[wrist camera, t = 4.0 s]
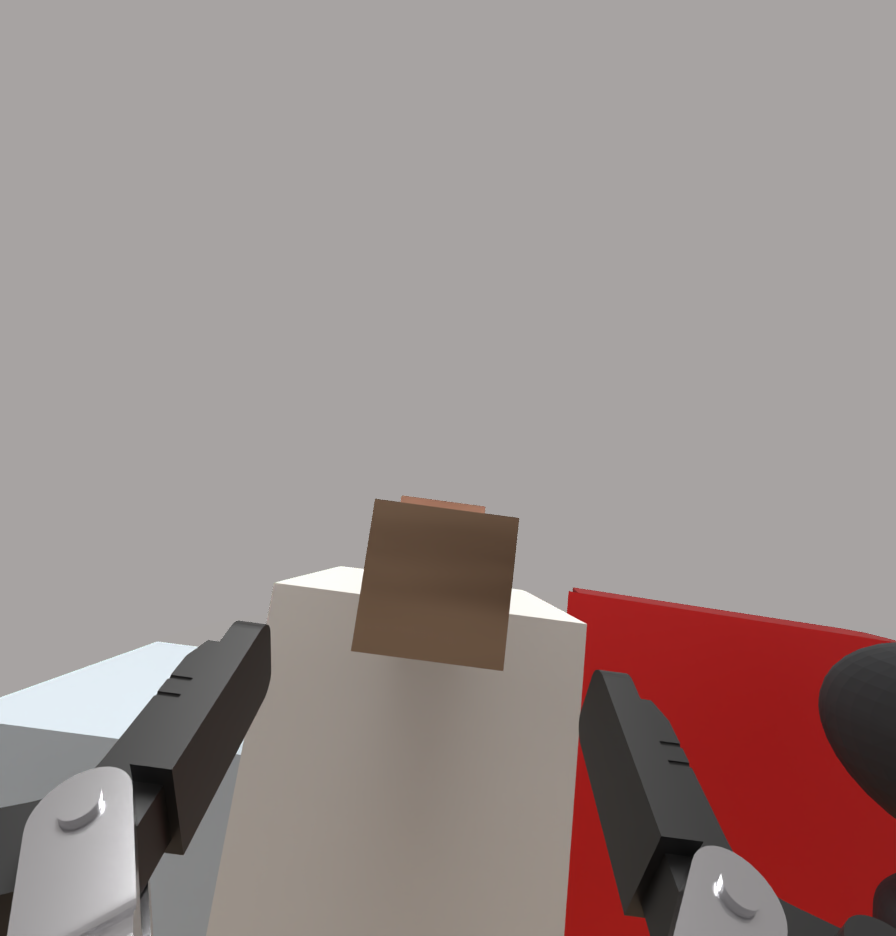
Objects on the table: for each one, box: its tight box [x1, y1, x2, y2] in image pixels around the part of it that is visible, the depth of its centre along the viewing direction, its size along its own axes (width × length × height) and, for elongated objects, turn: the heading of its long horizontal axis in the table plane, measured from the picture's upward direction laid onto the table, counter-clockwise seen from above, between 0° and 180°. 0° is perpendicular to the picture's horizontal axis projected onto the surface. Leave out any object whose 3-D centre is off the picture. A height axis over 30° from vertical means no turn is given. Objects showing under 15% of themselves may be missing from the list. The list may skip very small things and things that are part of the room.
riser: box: [0, 566, 587, 936], centre depth 27 cm, size 16×30×32 cm, turn 92°
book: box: [564, 588, 896, 936], centre depth 42 cm, size 27×8×32 cm, turn 71°
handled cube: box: [351, 496, 519, 671], centre depth 24 cm, size 25×6×6 cm, turn 2°
